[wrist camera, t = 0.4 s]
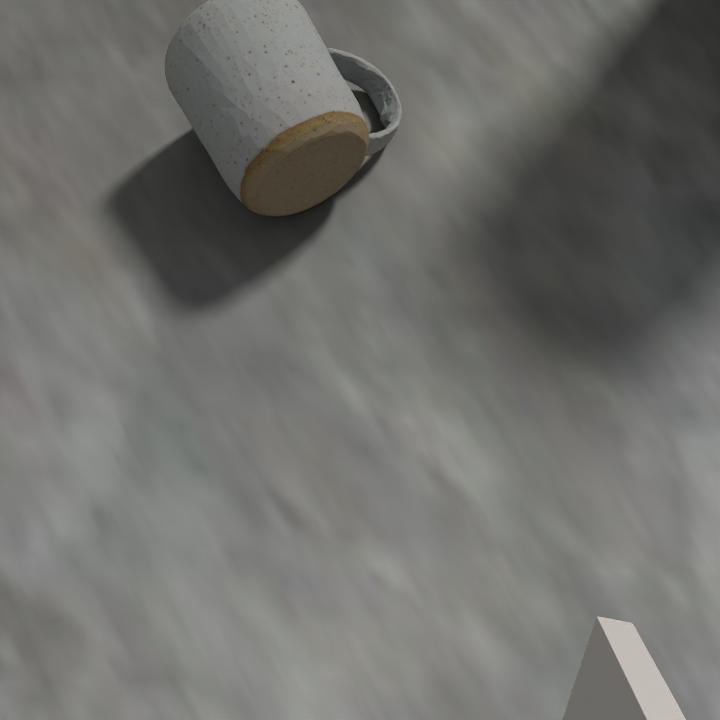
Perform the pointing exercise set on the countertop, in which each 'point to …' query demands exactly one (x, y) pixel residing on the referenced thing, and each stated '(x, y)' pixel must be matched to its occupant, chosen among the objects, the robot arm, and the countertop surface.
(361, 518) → the countertop surface
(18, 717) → the countertop surface
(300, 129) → the ceramic mug
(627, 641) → the robot arm
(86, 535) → the countertop surface
